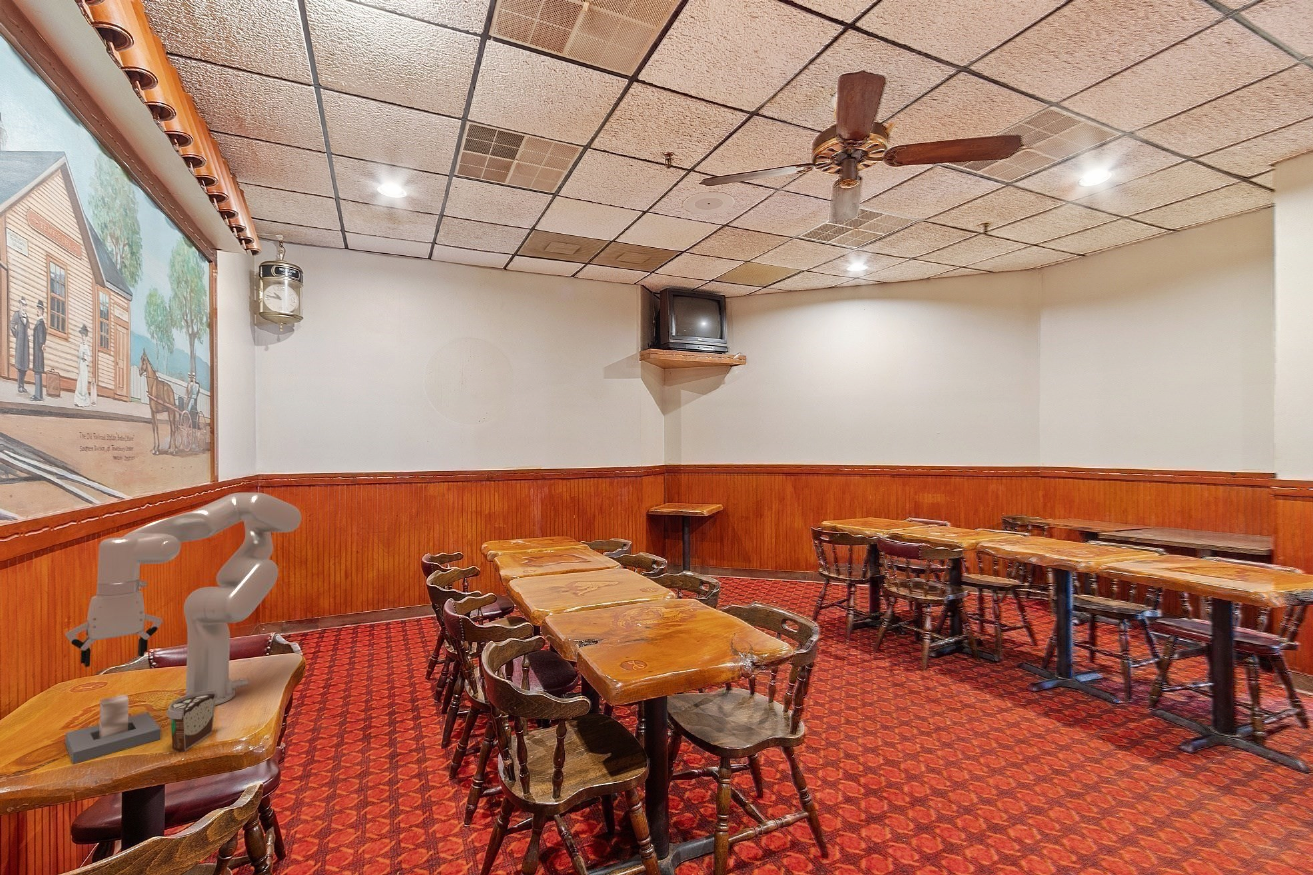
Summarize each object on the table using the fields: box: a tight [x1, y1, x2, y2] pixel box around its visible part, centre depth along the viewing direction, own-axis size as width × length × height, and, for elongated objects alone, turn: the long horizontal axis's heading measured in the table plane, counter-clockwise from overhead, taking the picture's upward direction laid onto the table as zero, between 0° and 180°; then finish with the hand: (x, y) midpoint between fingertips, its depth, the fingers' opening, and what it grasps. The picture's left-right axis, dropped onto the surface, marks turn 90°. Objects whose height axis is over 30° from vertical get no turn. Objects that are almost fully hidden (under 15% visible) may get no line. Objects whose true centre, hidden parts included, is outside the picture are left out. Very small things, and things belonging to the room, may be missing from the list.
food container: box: [166, 690, 217, 752], centre depth 139 cm, size 12×6×10 cm, turn 5°
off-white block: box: [98, 694, 130, 739], centre depth 140 cm, size 4×4×10 cm
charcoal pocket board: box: [64, 711, 162, 765], centre depth 139 cm, size 15×15×2 cm
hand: (114, 660), depth 140 cm, fingers open, 9 cm apart
